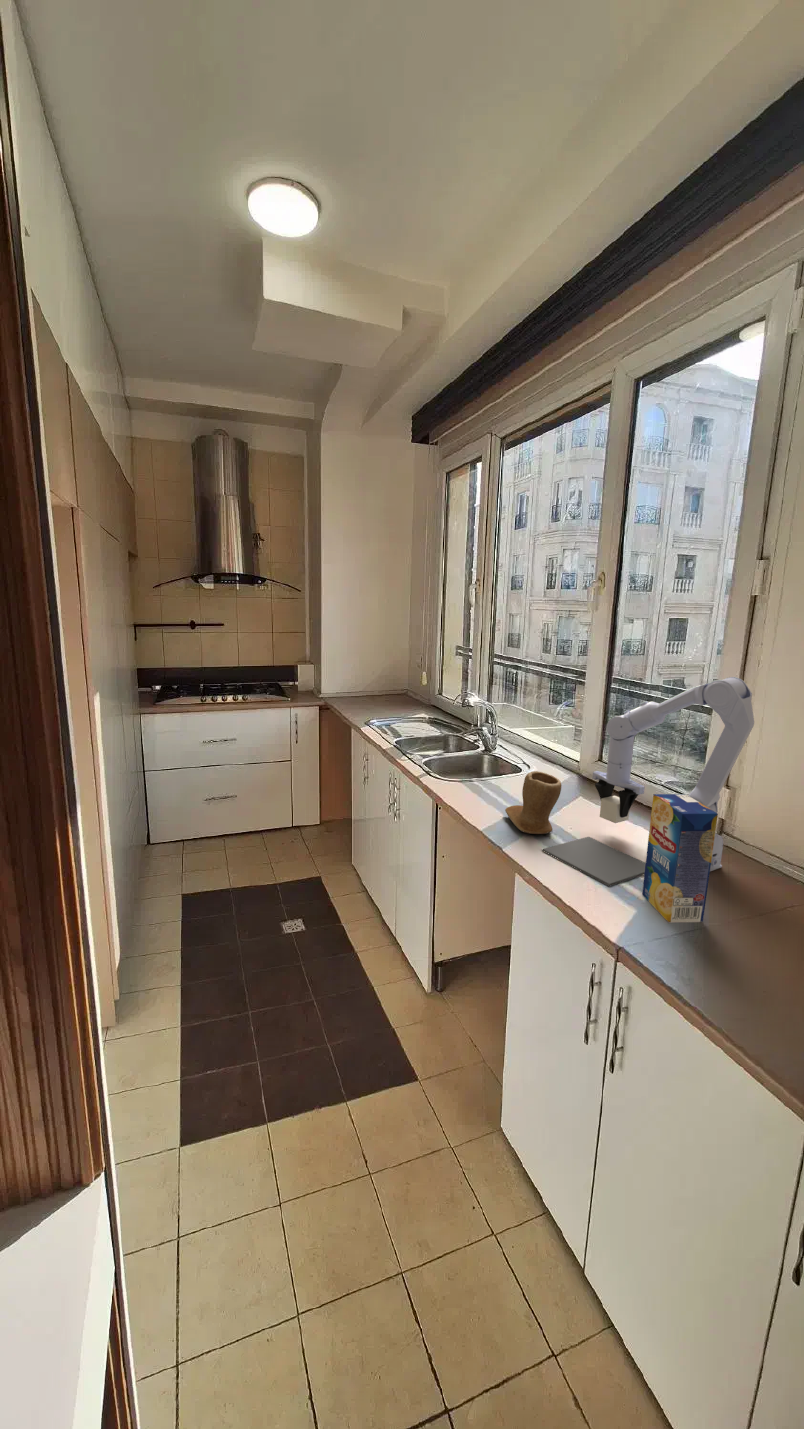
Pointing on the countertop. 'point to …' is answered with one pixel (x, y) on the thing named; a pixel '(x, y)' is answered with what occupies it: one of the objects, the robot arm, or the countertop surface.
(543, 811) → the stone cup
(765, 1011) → the countertop surface
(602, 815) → the cream cube
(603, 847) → the charcoal mat
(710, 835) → the beverage box
